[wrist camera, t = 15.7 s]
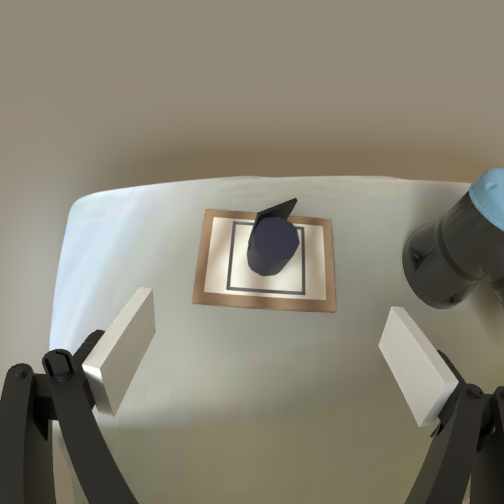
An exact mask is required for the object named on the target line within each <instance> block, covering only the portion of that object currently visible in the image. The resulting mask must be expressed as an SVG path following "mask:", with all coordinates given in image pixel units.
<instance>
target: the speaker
mask: <svg viewBox="0 0 504 504" xmlns="http://www.w3.org/2000/svg"><path fill="white" fill-rule="evenodd" d="M296 202H297V199H296V198H294V199H292V200H289V201H287V202H284V203H281V204H279V205H276V206H274V207H271V208H269V209H266V210H264V211H261V212H259V213H257V216H256V219H255V222H254V225H253V228H252V231H251V234H250V237H249V241H248V248H247V260H248V266H249V267H250V269H251V270H252V271H254V272H256V273H257V274H259V275H261V276H263V277H264V276H273V275H276V274H278V273H279V272H280V271H281V270H282V269H283V268H284V267H285V265H286V264H287V263H288V262H289V261H290V259H291V258H292V257H293V256H294V254H295V252H296V250H297V248H298V246H299V244H300V242H299V237H298V232H297V229H296V228H295V226H294V225H293V224H292V223H290V222H288V221H287V219H288V217H289V215H290V213H291V211H292V210H293V208H294V206H295V204H296Z"/></svg>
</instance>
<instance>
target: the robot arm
mask: <svg viewBox="0 0 504 504" xmlns="http://www.w3.org/2000/svg"><path fill="white" fill-rule="evenodd" d="M403 267H404V271H405V275H406V278H407V280H408V282H409V284H410V286H411V288H412V289H413V291H414V292H415V293H416V295H417V296H418V297H419V298H420V299H421V300H422V301H424V302H425V303H426V304H428V305H430V306H432V307H434V308H438V309H447V308H451V307H453V306H455V305H457V304H459V303H460V302H462V301H463V300H464V299H465V298H466V297H467V296H468V294H469V293H470V292H471V290H472V289H473V288H474V286H475V285H476V283H477V282H478V281H479V279H481V278H483V277H484V276H486V278H487V279H488V281H489V283H490V284H491V286H492V288H493V290H494V291H495V293H496V295H497V297H498V298H499V300H500V302H501V304H502V306H503V308H504V169H502V168H492V169H490V170H488V171H486V172H485V173H484V174H483V175H482V177H480V178H479V179H478V180H477V181H475V182H474V183H473V184H472V185H471V186H470V189H469V191H468V192H467V193H466V194H465V195H464V196H463V197H462V198H461V199H460V200H459V202H458V203H457V204H456V205H455V206H454V207H453V208H452V209H451V210H450V211H449V212H448V213H447V214H446V215H445V216H444V217H443V218H442V219H441V220H438V221H436V222H433V223H430V224H428V225H425V226H423V227H421V228H419V229H418V230H416V231H415V232H414V233H413V234H412V235H411V236H410V238H409V239H408V240H407V242H406V244H405V246H404V250H403ZM155 332H156V329H155V318H154V305H153V290H152V289H150V288H141V287H139V288H138V289H137V291H136V292H135V293H134V295H133V296H132V297H131V298H130V300H129V301H128V302H127V304H126V305H125V306H124V308H123V309H122V310H121V312H120V313H119V314H118V315H117V317H116V318H115V319H114V321H113V322H112V324H111V325H110V326H109V328H108V329H107V330H106V331H103V330H96V331H95V332H93V333H91V334H90V335H89V336H88V337H87V338H86V340H85V341H84V343H83V344H82V345H81V346H80V348H79V349H78V350H77V351H76V353H75V354H74V355H73V356H72V355H71V353H70V352H69V351H67V350H64V349H55V350H52V351H49V352H48V353H46V354H45V355H44V357H43V358H42V364H43V367H44V370H45V372H46V374H35V373H34V372H33V369H32V368H31V366H29V365H28V364H24V363H21V364H16V365H14V366H12V367H11V368H10V369H9V370H8V372H7V374H6V378H5V382H4V386H3V391H2V395H1V400H0V504H56V499H55V488H54V476H53V456H52V420H58V421H59V425H60V428H61V431H62V435H63V438H64V441H65V444H66V447H67V450H68V453H69V456H70V458H71V461H72V464H73V467H74V469H75V472H76V474H77V477H78V479H79V482H80V484H81V486H82V489H83V491H84V493H85V495H86V498H87V500H88V502H89V504H139V503H138V502H137V500H136V498H135V497H134V495H133V493H132V492H131V490H130V488H129V487H128V485H127V483H126V481H125V480H124V478H123V476H122V474H121V472H120V470H119V469H118V467H117V465H116V463H115V461H114V459H113V457H112V455H111V453H110V451H109V449H108V447H107V445H106V442H105V440H104V438H103V436H102V434H101V431H100V429H99V427H98V425H97V422H96V420H95V417H94V415H93V413H92V409H93V407H94V405H95V404H96V407H97V410H98V412H99V413H103V414H106V415H110V416H114V417H115V415H116V412H117V410H118V408H119V406H120V404H121V402H122V399H123V397H124V395H125V393H126V391H127V389H128V387H129V385H130V383H131V380H132V378H133V376H134V374H135V372H136V370H137V368H138V366H139V364H140V362H141V360H142V358H143V356H144V354H145V352H146V350H147V348H148V346H149V344H150V342H151V340H152V338H153V336H154V334H155ZM378 347H379V348H380V350H381V352H382V354H383V356H384V358H385V360H386V362H387V364H388V365H389V367H390V369H391V371H392V373H393V375H394V377H395V379H396V381H397V383H398V385H399V387H400V389H401V391H402V393H403V395H404V397H405V399H406V401H407V403H408V405H409V407H410V409H411V411H412V413H413V416H414V418H415V420H416V422H417V424H418V426H419V427H424V426H429V425H432V424H433V423H434V421H435V420H436V418H437V417H439V419H440V421H441V422H440V423H439V425H438V426H437V427H436V429H435V430H434V432H433V433H432V434H431V436H430V437H433V435H434V437H433V440H432V443H431V445H430V448H429V451H428V453H427V456H426V458H425V461H424V463H423V465H422V468H421V470H420V472H419V475H418V477H417V479H416V481H415V483H414V485H413V488H412V490H411V492H410V494H409V496H408V498H407V500H406V502H405V503H404V504H462V501H463V498H464V495H465V491H466V488H467V485H468V481H469V477H470V474H471V489H470V504H504V386H499V387H497V389H496V390H495V392H494V393H493V394H484V393H483V391H482V389H480V388H479V387H478V386H476V385H474V384H466V382H465V381H464V379H463V378H462V377H461V375H460V374H459V372H458V371H457V370H456V368H454V366H453V364H452V363H451V361H450V360H449V359H448V357H447V356H446V355H445V354H443V353H442V352H441V351H440V350H436V349H435V348H434V347H433V345H432V344H431V343H430V341H429V340H428V339H427V337H426V336H425V335H424V334H423V332H422V331H421V330H420V328H419V327H418V326H417V324H416V323H415V322H414V321H413V319H412V318H411V317H410V316H409V314H408V313H407V312H406V311H405V309H404V308H403V307H391V309H390V312H389V316H388V319H387V322H386V325H385V328H384V331H383V334H382V337H381V340H380V343H379V345H378ZM494 429H495V432H494Z"/></svg>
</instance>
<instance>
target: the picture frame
mask: <svg viewBox="0 0 504 504" xmlns="http://www.w3.org/2000/svg"><path fill="white" fill-rule="evenodd" d="M256 216H257V213H252V212H238V211H224V210H209V209H206V210H205V216H204V222H203V229H202V235H201V242H200V248H199V255H198V262H197V269H196V276H195V284H194V291H193V299H192V302H193V304H203V305H215V306H227V307H239V308H253V309H268V310H285V311H305V312H331V313H334V312H335V311H336V298H335V275H334V257H333V242H332V229H331V220H329V219H319V218H309V217H298V216H289V217H288V219H287V221H288V222H290V223H292V224H293V225H294V226H295V228H296V229H297V232H298V237H299V242H300V244H299V246H298V248H297V250H296V252H295V254H294V256H293V257H292V258H291V259H290V261H289V262H288V263H287V264H286V265H285V267H284V268H283V269H282V270H281V271H280V272H279V273H278V274H276V275H273V276H264V277H263V276H261V275H259V274H257V273H256V272H254V271H252V270H251V269H250V267H249V266H248V260H247V248H248V241H249V237H250V234H251V231H252V228H253V225H254V222H255V219H256Z"/></svg>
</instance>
